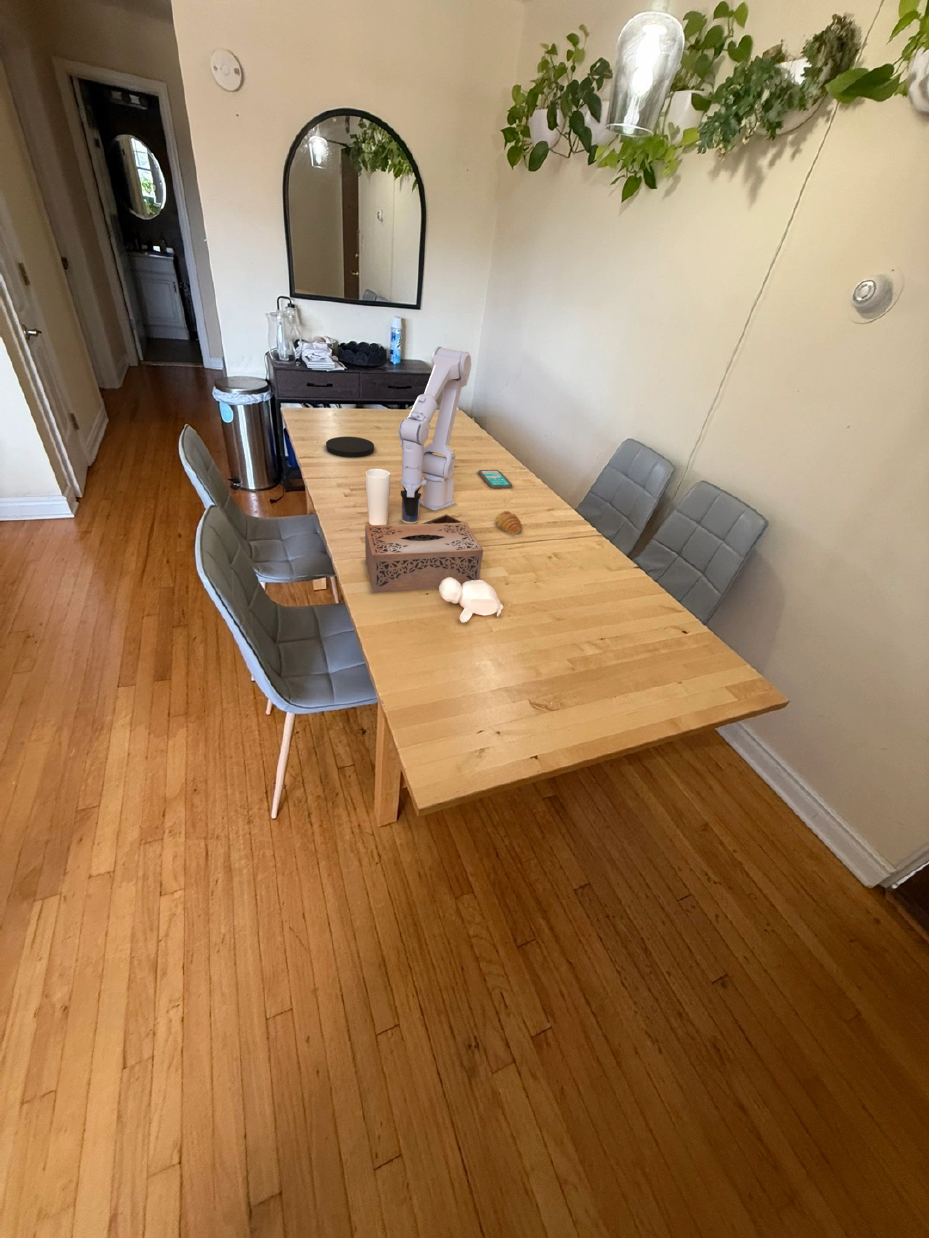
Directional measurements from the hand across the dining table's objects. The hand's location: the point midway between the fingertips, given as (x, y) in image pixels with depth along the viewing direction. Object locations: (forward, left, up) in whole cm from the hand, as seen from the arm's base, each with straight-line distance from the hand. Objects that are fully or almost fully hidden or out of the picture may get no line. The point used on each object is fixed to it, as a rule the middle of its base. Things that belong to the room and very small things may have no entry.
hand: (410, 510), depth 147 cm
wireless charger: (-24, -59, -4) cm, 64 cm away
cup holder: (-2, +10, -4) cm, 11 cm away
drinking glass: (+8, -5, -4) cm, 10 cm away
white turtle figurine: (+20, +41, -4) cm, 46 cm away
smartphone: (-48, -7, -4) cm, 49 cm away
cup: (0, 0, -3) cm, 3 cm away
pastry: (-22, +20, -4) cm, 30 cm away
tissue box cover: (+17, +22, -4) cm, 28 cm away
